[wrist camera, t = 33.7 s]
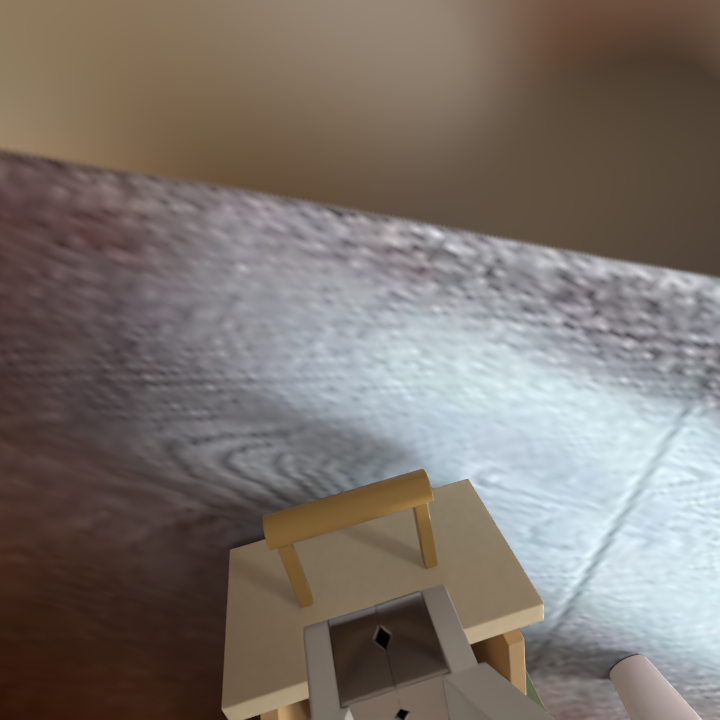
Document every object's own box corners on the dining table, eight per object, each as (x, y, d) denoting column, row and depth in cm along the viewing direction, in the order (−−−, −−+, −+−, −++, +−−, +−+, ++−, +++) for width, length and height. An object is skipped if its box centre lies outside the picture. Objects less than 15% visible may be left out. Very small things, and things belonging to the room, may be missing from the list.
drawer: (193, 472, 23) (166, 626, 16) (459, 397, 24) (543, 508, 17) (301, 699, 33) (314, 855, 26) (485, 638, 34) (545, 771, 27)
